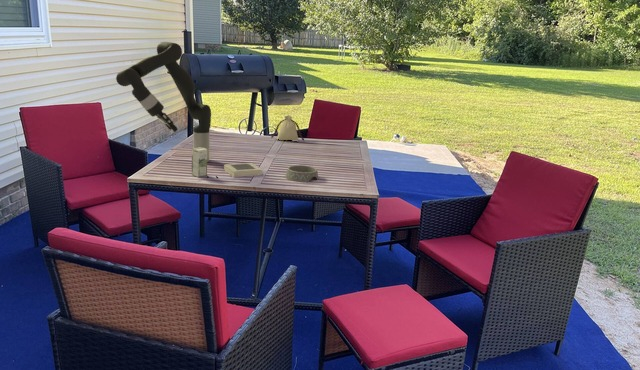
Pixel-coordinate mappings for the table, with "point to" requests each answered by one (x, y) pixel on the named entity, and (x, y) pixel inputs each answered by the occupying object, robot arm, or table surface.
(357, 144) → the table surface
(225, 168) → the plinth
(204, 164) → the syrup box
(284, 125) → the pouch
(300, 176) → the dog bowl
